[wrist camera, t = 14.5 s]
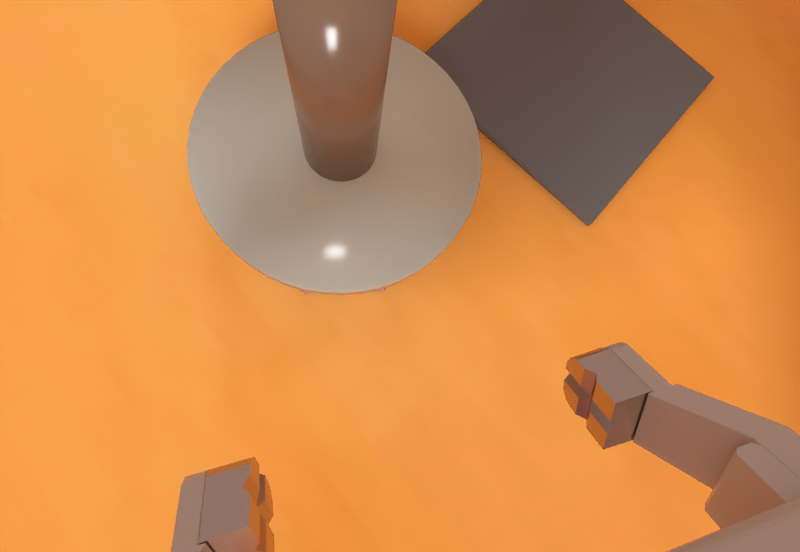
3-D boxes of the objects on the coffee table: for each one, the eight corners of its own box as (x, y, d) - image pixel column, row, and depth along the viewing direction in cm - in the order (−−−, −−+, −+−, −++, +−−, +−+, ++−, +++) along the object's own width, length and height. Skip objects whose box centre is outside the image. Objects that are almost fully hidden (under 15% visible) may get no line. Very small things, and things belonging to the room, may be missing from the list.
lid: (527, 161, 20) (669, -1, 11) (344, 357, 17) (341, 347, 8) (337, -6, 20) (330, -287, 12) (132, 156, 18) (-81, -51, 9)
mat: (708, 81, 28) (713, 77, 28) (587, 225, 25) (591, 223, 25) (549, -55, 29) (551, -61, 29) (411, 69, 26) (412, 64, 25)
